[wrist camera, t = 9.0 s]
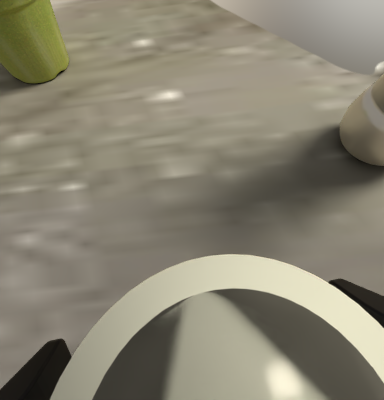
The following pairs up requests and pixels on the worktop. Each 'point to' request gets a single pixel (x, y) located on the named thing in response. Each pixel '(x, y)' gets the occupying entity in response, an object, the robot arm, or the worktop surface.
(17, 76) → the plant pot
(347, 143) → the plastic bottle
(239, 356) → the tumbler
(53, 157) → the worktop surface
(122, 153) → the worktop surface
